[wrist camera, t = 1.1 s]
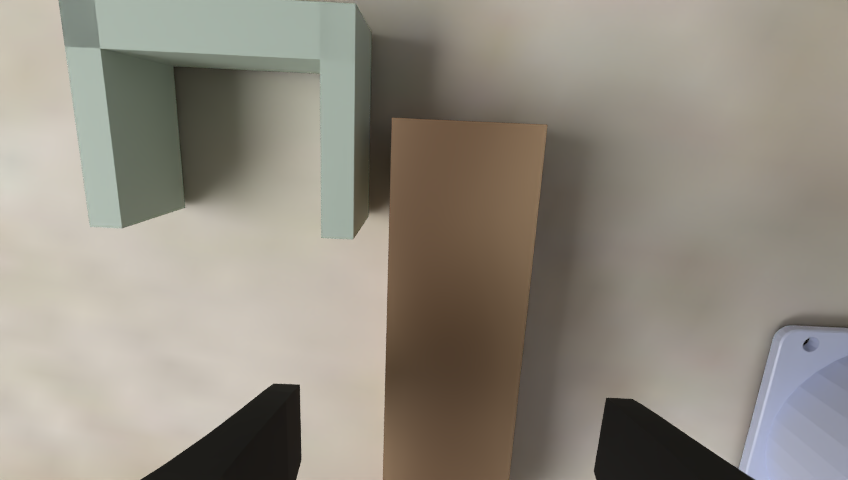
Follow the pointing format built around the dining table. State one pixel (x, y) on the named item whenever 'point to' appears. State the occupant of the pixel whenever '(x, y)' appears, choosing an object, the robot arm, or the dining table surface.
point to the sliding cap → (208, 48)
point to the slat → (458, 294)
